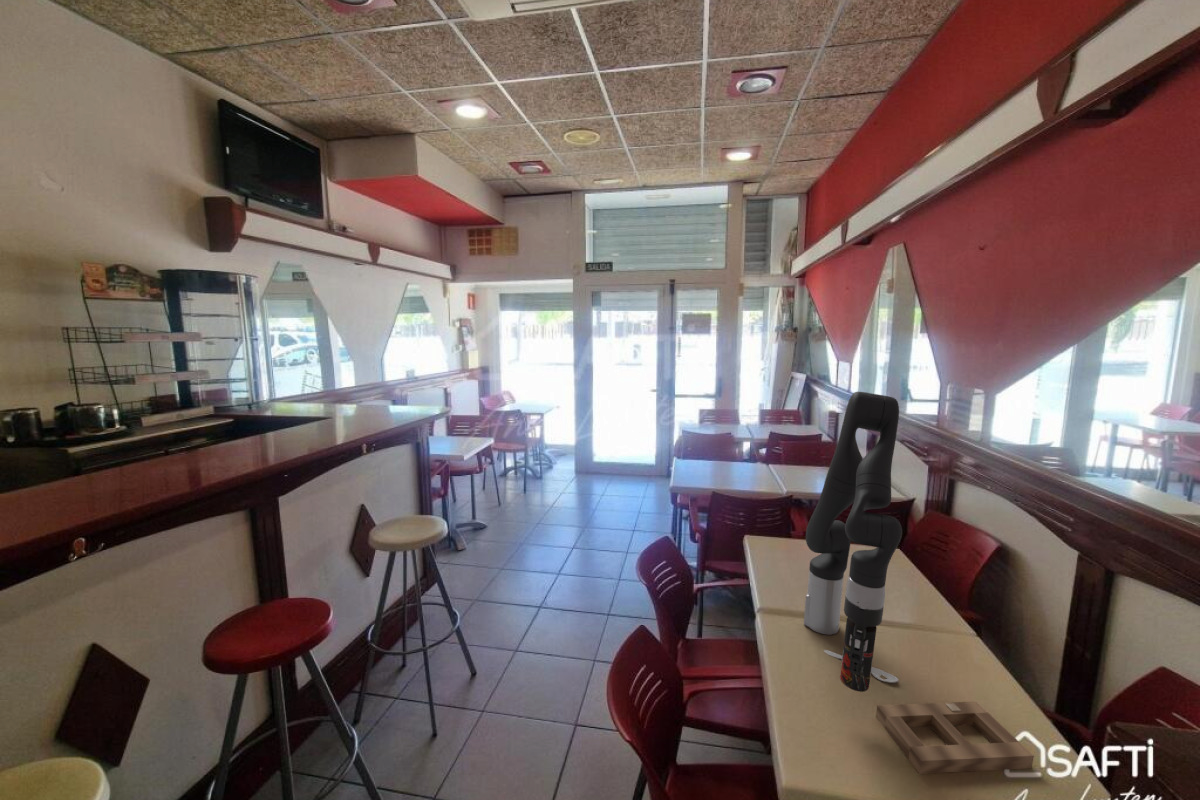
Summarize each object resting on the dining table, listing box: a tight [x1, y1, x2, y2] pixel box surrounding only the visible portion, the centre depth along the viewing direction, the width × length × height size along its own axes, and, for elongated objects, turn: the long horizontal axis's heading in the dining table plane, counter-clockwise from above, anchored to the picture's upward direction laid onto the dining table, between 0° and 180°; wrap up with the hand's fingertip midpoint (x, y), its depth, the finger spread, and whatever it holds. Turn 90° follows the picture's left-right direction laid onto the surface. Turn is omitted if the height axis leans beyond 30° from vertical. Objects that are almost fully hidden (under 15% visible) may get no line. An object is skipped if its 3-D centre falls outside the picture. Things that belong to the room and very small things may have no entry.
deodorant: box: [839, 617, 878, 693], centre depth 107 cm, size 6×6×15 cm
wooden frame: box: [875, 700, 1035, 775], centre depth 102 cm, size 24×14×3 cm, turn 93°
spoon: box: [823, 649, 900, 684], centre depth 126 cm, size 4×21×2 cm, turn 46°
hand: (856, 663), depth 107 cm, fingers closed on deodorant, 6 cm apart
